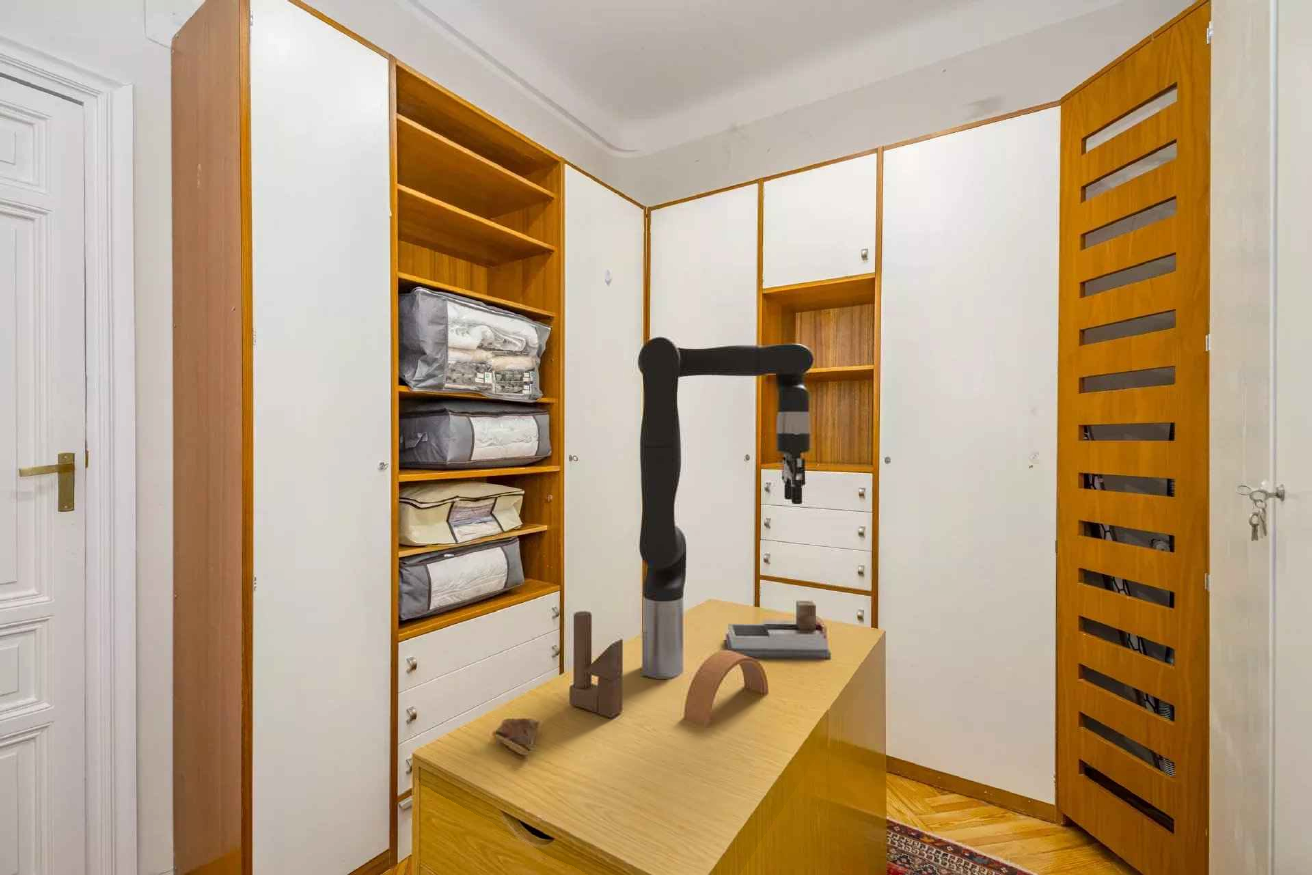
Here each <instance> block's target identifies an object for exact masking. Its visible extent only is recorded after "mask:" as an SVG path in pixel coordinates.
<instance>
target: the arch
mask: <svg viewBox="0 0 1312 875" xmlns="http://www.w3.org/2000/svg"><path fill="white" fill-rule="evenodd" d="M737 666H740V669H741V672H742V675H743V683H744V684H743V685H744V686H743V687H744V688H746V689H749V690H750V691H751V690H752V691H754V692H757V693H760V694H763V695H767V694H769V683H768V677H767V674H766V671H765V669H764V667H763V665H762V664H761V663H760V662H759V661H758V660H756V659H755V658H750V657H747V656H744V655H741V654H738V653H735V652H733V651H729V650H728V649H721V650H718V651H715V652H714V653H713V654H711V655H709V656H708V658H706V659H705V660H704V661H703V663H702V664H701V665H700V666H699V668H698V669H697V671H696V672H695V674H694V676H693V679H692V681H691V683H690V685H689V689H688V690H687V695H686V699H685V703H684V712H683V714H684V718H685V719H687V720H689V721H691V722H694V723H696V724H697V725H700V726H701V727H704V728H706V729H708V728H709V727H710V724H711V723H710V722H711V721H710V720H711V714H712V708H713V704H714V702H715V701H714V700H715V697H716V695H717V692H718V690H719V688H720V685H721V684H722V682H723V681H724V679H725V677H727V675H728V674H729V673H730V671H731V670H733V668H735V667H737Z"/></svg>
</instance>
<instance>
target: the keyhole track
mask: <svg viewBox="0 0 1312 875" xmlns="http://www.w3.org/2000/svg"><path fill="white" fill-rule="evenodd" d="M827 629H828V628H827V626H826V625H825V623H824V621H822V619H821V618H820V617H819V616H817V615H816V630H799V628H798V626H797V625H796V620H773V619H771V620H770V619H766V620H764V619H763V620H762V623H727V633H725V641H726V642H725V643H726V646H727V650H729V651H733V652H735V653H738V654H741V655H744V656H747V657H750V658H753V659H755V658H756V659H765V658H766V659H829V660H830V659H832V652H831V651H830V650H829V648H828V646H829V644H828V643H829V642H828V640H829V639H828V637H827V636H828V635H827V633H828V632H827V631H828V630H827Z"/></svg>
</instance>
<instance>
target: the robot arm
mask: <svg viewBox="0 0 1312 875" xmlns="http://www.w3.org/2000/svg"><path fill="white" fill-rule="evenodd" d="M814 361H815V360H814V354H813V352H812V351H811V349H810V348H809V347H807V346H805V345H804V344H799V343H783V344H773V345H758V344H757V345H756V344H755V345H753V344H752V345H749V344H747V345H746V344H745V345H741V344H739V345H727V346H716V347H708V348H706V347H705V348H684V347H683V348H682V347H678V346H677V345H676V344H675V343H674V342H673V341H672V340H671V339H669V338H667V337H663V336H658V337H654V338H651V339H650V340H647V342H646V343H645V344H643V346H642V347H641V349H640V351H639V354H638V358H637V366H638V369H639V371H640V373H641V375H642V382H643V384H642V385H643V395H644V396H643V399H644V400H643V401H644V402H643V404H644V405H643V411H642V419H641V425H640V436H639V437H640V439H639V454H640V455H639V459H640V460H639V462H640V463H639V464H640V486H641V488H640V489H641V505H642V507H641V522H640V523H641V524H640V534H639V535H640V536H639V544H638V545H639V547H638V548H639V553H640V556H641V559H642V561H643V562H644V563H645V565H646V566H647V567H646V568H647V569H646V574H645V579H644V582H643V585H642V633H641V675H642V676H643V677H650V678H652V679H659V680H668V679H675V678H676V677H679V676H681V675H683V672H684V592H685V591H684V590H685V589H684V588H685V583H686V578H687V577H686V576H687V575H686V573H687V540H686V538H685V535H684V532H683V531H682V530H681V528H679V527H678V526H676V521H675V503H676V496H677V492H678V488H679V482H680V477H681V470H682V444H681V443H682V442H681V429H680V428H681V426H680V415H679V409H678V408H679V406H678V388H679V378H682V377H693V376H695V377H697V376H722V377H723V376H725V377H726V376H727V377H728V376H729V377H762V376H766V375H775V381H776V387H777V391H778V397H777V419H776V451H777V453H785V455H782V459H781V460H782V463H781V466H782V467H781V468H782V470H781V472H782V473H781V480H782V481H783V484H784V491H783V492H784V493H783V494H784V499H785V500H791V503H792V505H802V503H803V487H804V486H805V485H806V458H804V457H802V454H803V453H804V454H805V453H809V452H810V451H811V419H810V395H809V394H810V393H809V390H808V389H807V388H806V387H805V381H804V379H805V378H804V374H806V373H807V372H808V371H809V370H810V369H811V368H812V367H813V364H814Z"/></svg>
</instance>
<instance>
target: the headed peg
mask: <svg viewBox="0 0 1312 875" xmlns="http://www.w3.org/2000/svg"><path fill="white" fill-rule="evenodd" d="M795 602H796V603H795V604H796V605H795V606H796V607H795V608H796V609H795V610H796V612H795V613H796V614H795V621H796V625H797V626H798V628H799V630H816V616H817V614H816V613H817V605H816V603H815V602H814V601H813V600H796V601H795Z"/></svg>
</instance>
